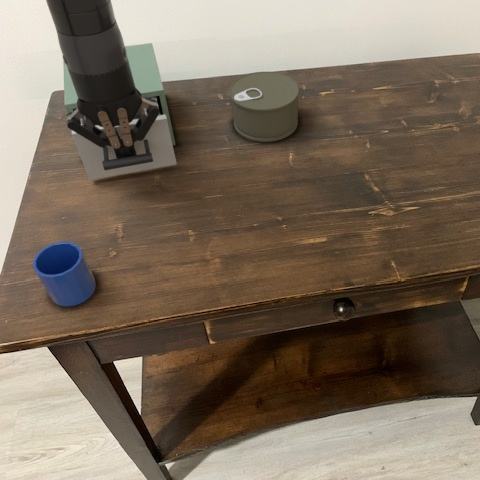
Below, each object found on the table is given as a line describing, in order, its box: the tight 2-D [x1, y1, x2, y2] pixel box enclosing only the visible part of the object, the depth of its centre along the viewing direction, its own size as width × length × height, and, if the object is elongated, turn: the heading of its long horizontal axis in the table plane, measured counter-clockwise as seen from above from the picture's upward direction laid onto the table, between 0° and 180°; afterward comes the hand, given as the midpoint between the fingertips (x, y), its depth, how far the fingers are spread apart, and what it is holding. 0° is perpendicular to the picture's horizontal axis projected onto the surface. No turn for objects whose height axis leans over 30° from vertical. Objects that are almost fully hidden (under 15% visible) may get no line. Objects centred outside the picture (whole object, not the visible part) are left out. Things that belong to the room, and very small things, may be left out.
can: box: [228, 71, 300, 143], centre depth 94 cm, size 12×12×7 cm
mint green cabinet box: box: [62, 42, 176, 146], centre depth 91 cm, size 16×15×11 cm
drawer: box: [71, 96, 178, 181], centre depth 85 cm, size 20×14×9 cm
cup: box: [32, 241, 97, 307], centre depth 68 cm, size 6×6×6 cm
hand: (128, 162), depth 81 cm, fingers closed
